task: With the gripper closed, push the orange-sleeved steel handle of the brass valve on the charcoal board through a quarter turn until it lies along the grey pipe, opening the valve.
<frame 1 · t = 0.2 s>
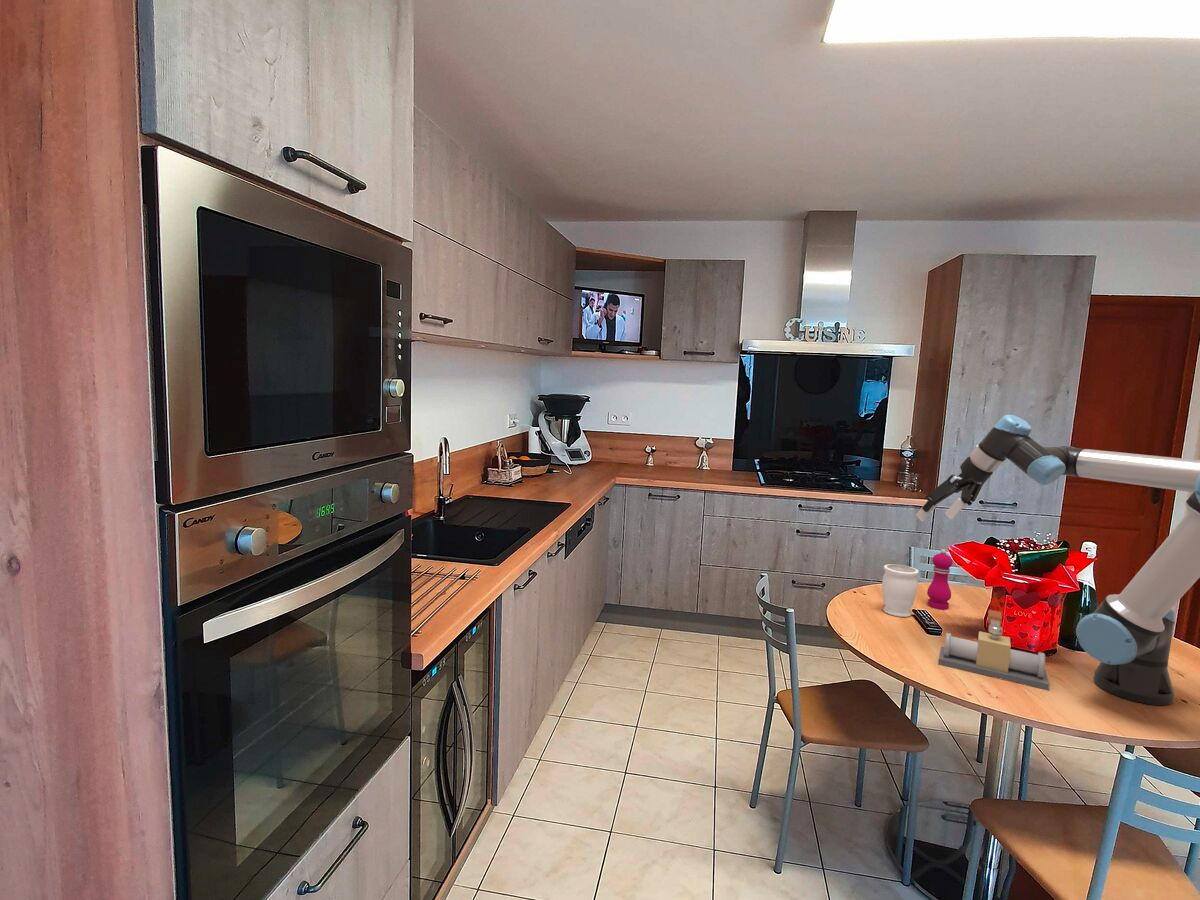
hand: (934, 517, 186), 35 cm above the table, tool tilted 35°, fingers open, 13 cm apart
valve: (990, 669, 165), on the table
valve lever: (995, 622, 169), point 11 cm above the table, hinge at 0.0°
jar: (896, 613, 205), on the table
pepper mill: (937, 607, 213), on the table
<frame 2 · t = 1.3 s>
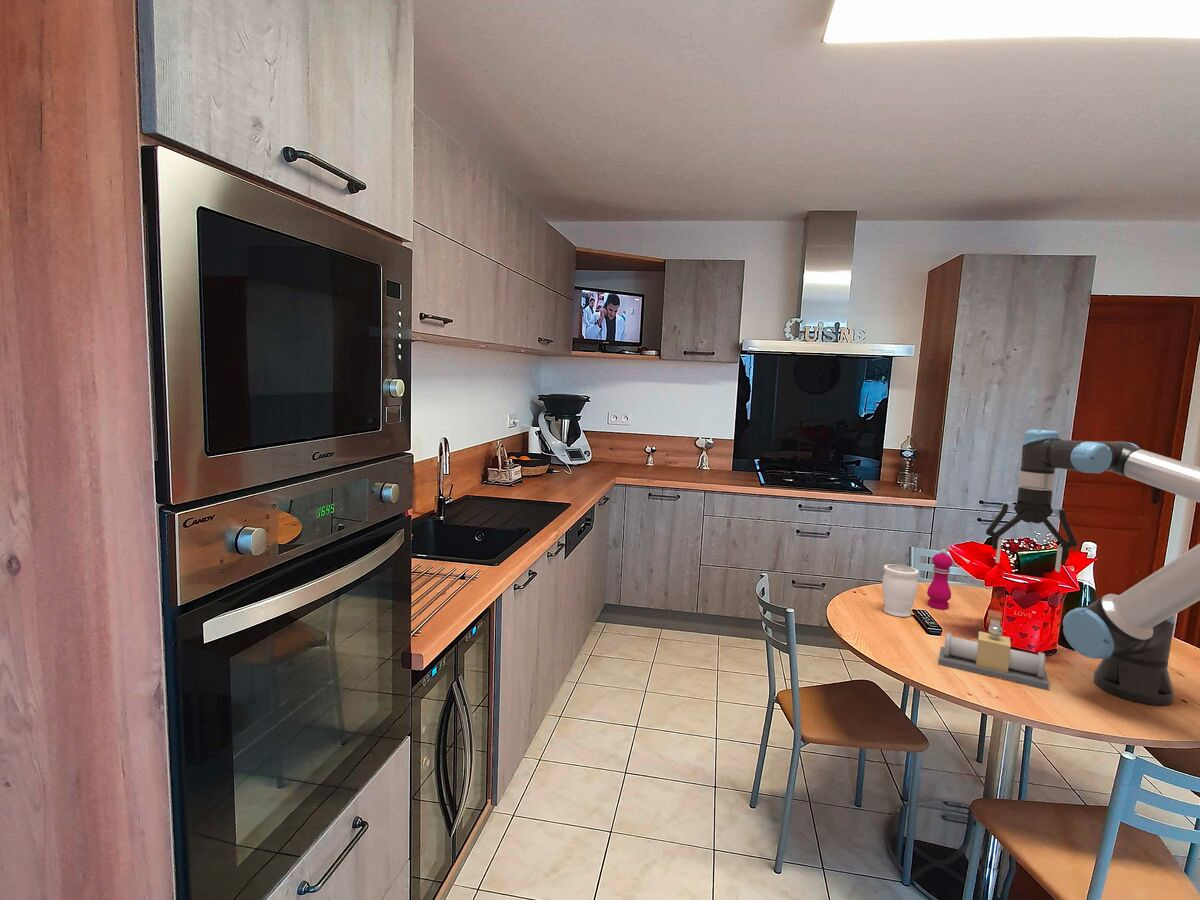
hand: (1026, 566, 168), 27 cm above the table, tool pointing down, fingers open, 13 cm apart
nothing on the table moved.
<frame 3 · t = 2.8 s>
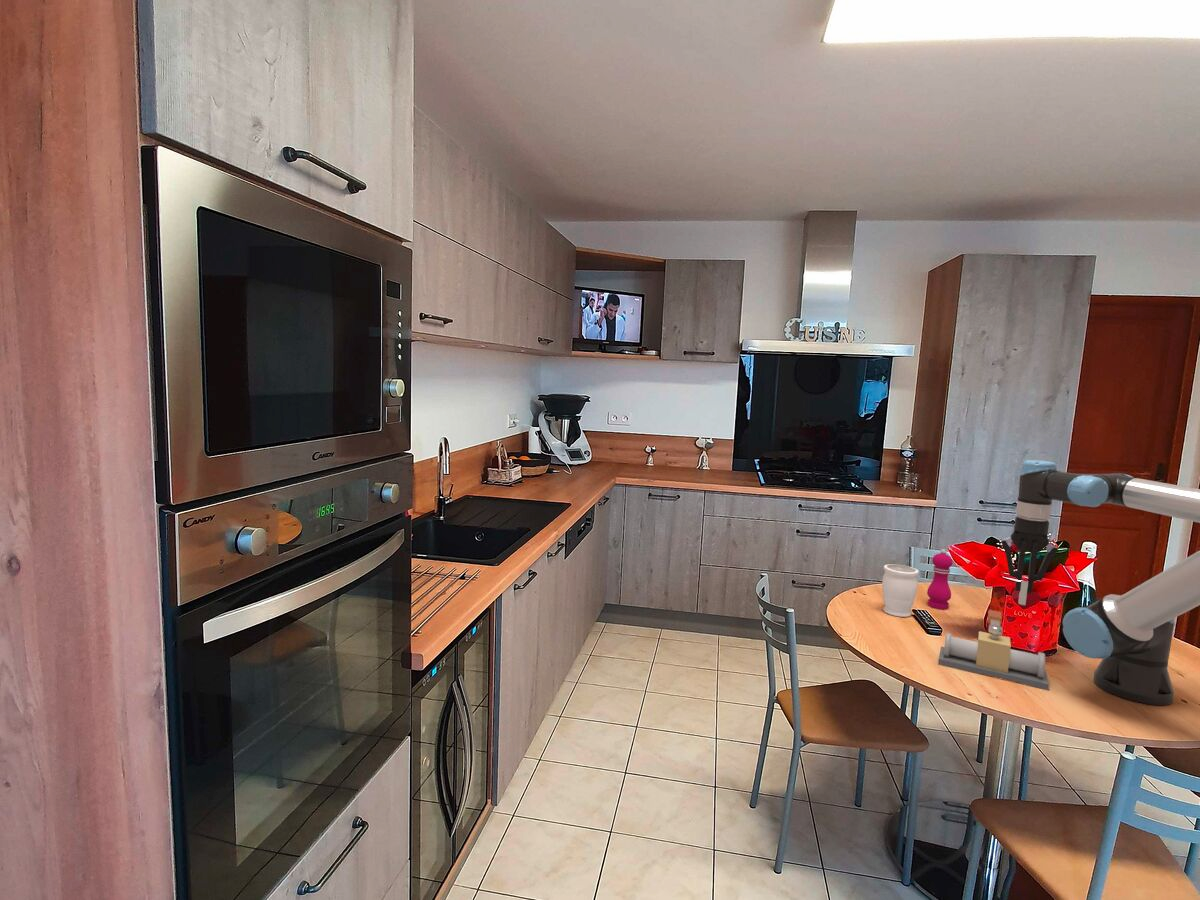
hand: (1021, 603, 169), 16 cm above the table, tool pointing down, fingers closed
nothing on the table moved.
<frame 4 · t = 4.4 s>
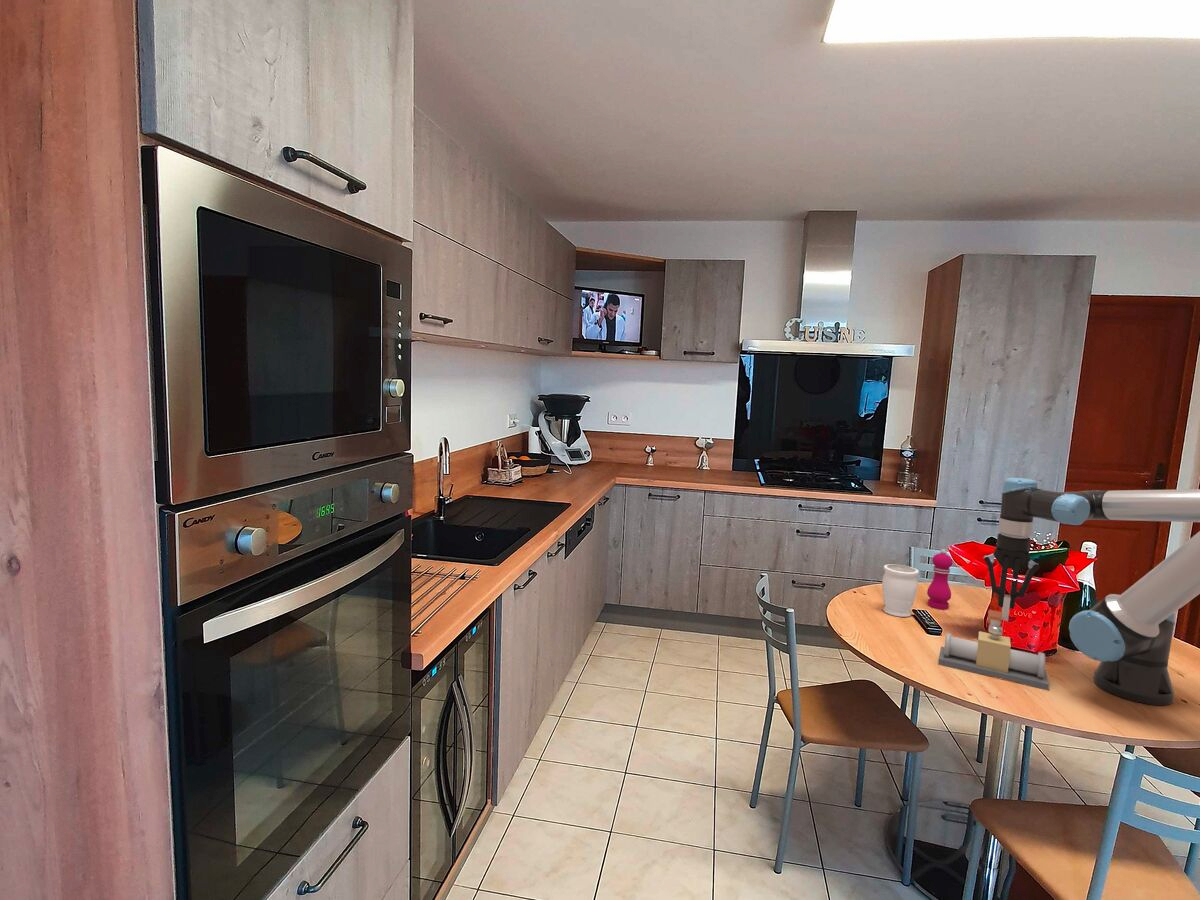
hand: (1004, 618, 172), 11 cm above the table, tool pointing down, fingers closed
valve lever: (995, 622, 169), point 11 cm above the table, hinge at 0.0°, touching gripper
everything else where it was.
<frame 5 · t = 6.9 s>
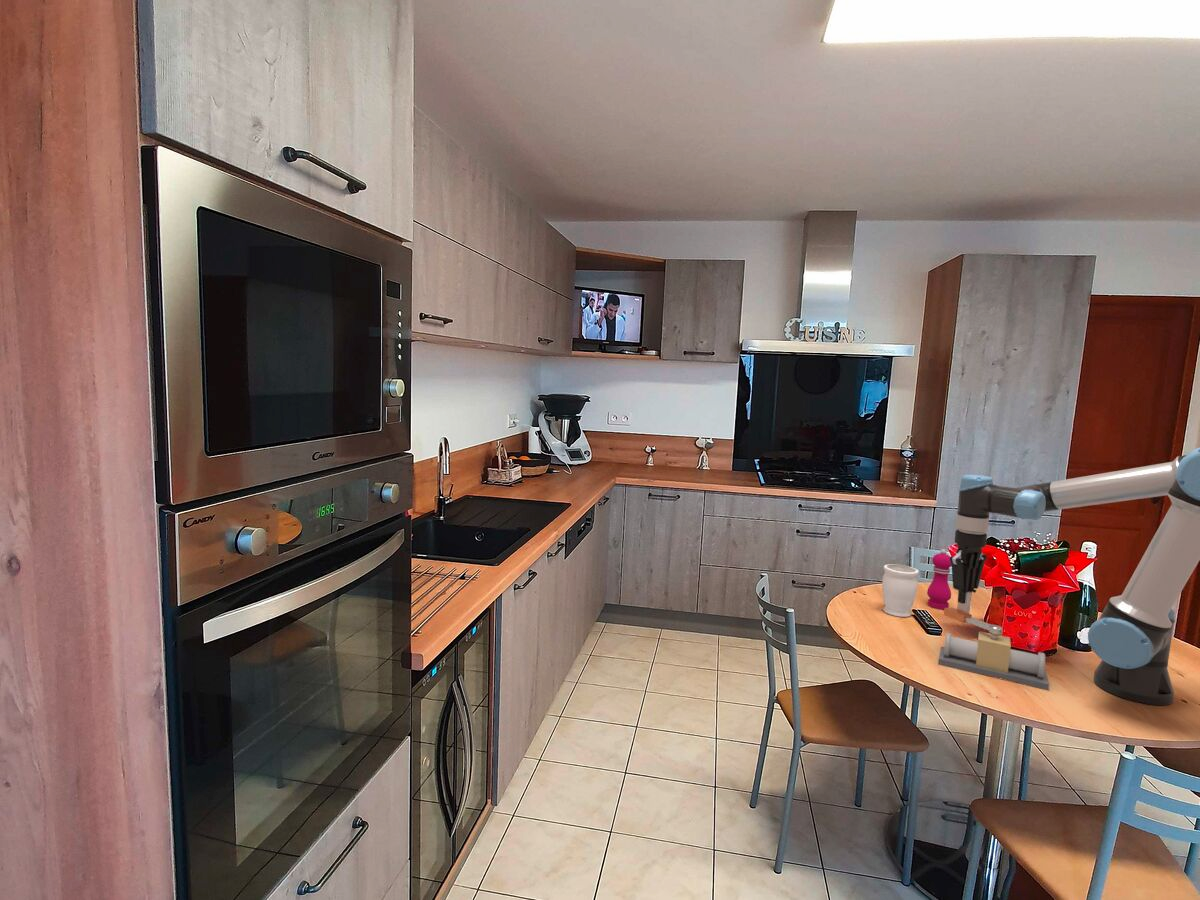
hand: (962, 613, 175), 11 cm above the table, tool pointing down, fingers closed
valve lever: (973, 621, 169), point 11 cm above the table, hinge at 53.4°, touching gripper
everything else where it was.
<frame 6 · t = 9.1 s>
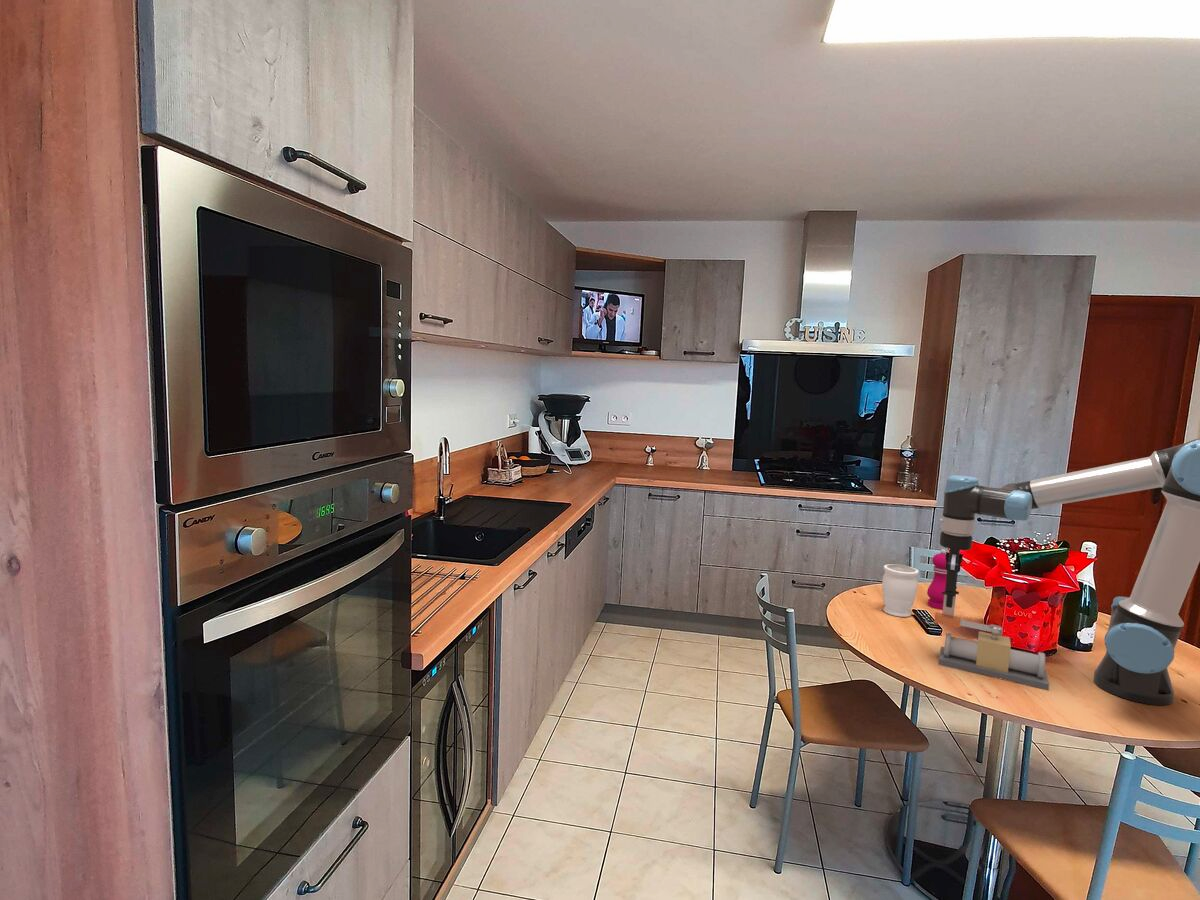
hand: (947, 617, 171), 11 cm above the table, tool pointing down, fingers closed
valve lever: (967, 624, 167), point 11 cm above the table, hinge at 89.7°, touching gripper
everything else where it was.
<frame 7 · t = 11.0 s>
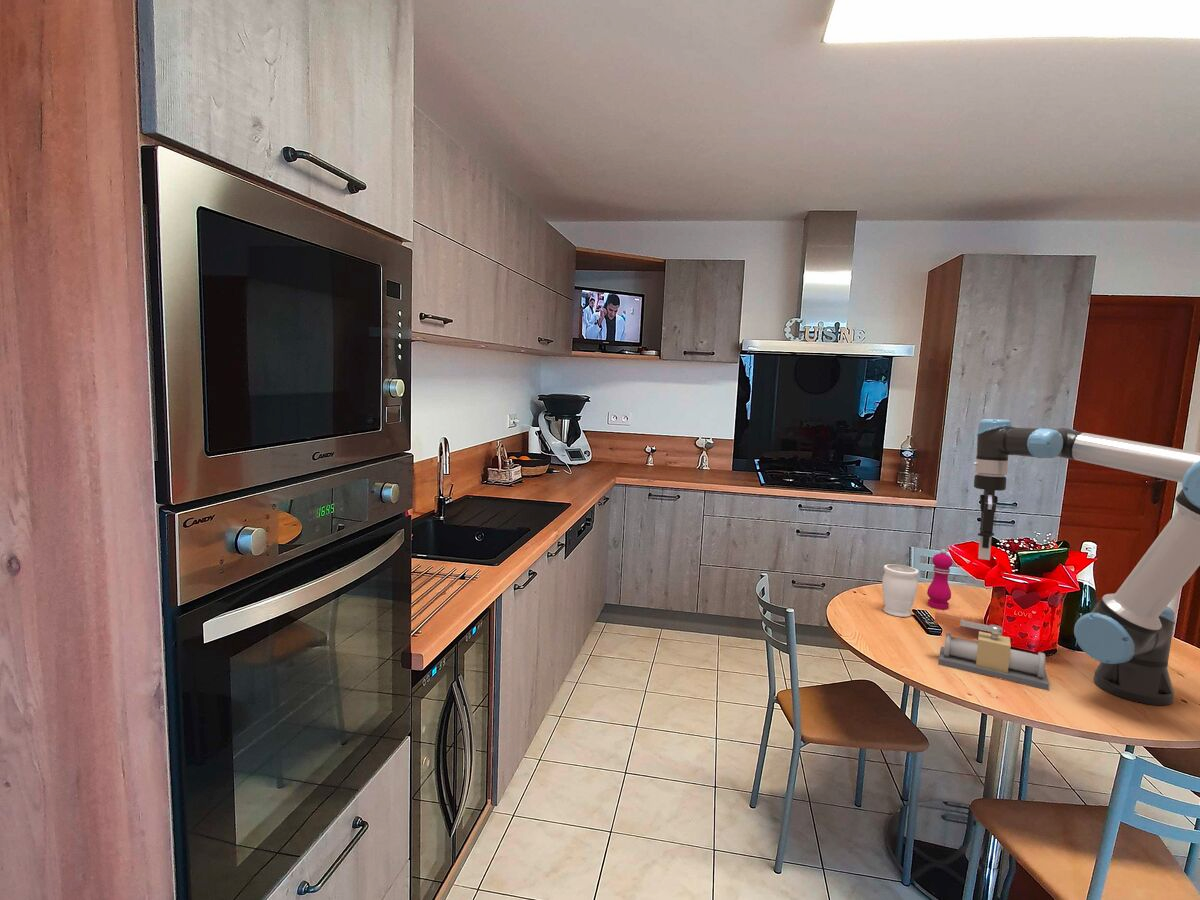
hand: (984, 558, 174), 26 cm above the table, tool pointing down, fingers closed
valve lever: (967, 624, 167), point 11 cm above the table, hinge at 89.8°
everything else where it was.
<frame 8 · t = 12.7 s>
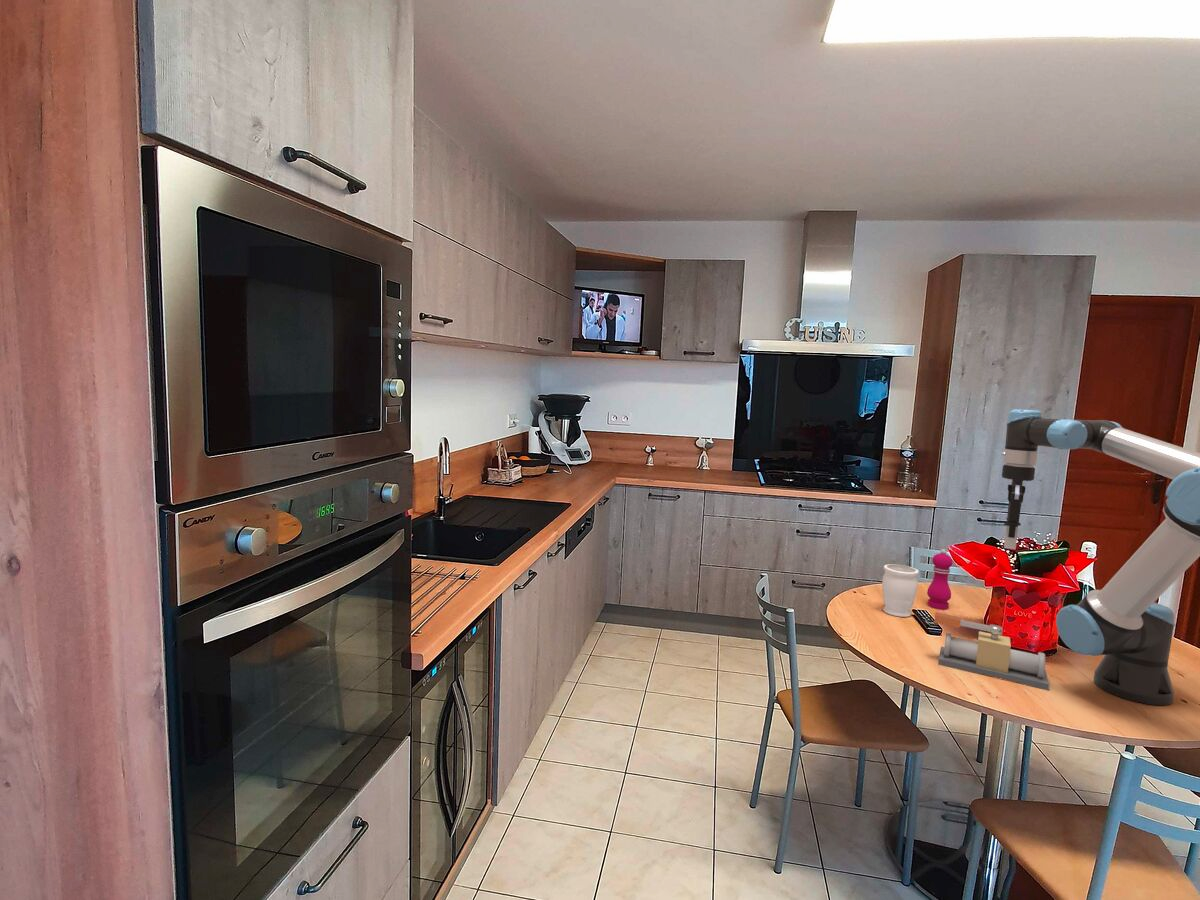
hand: (1009, 548, 176), 29 cm above the table, tool pointing down, fingers closed
nothing on the table moved.
at the end: valve lever at +90° (first picture: +0°) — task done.
